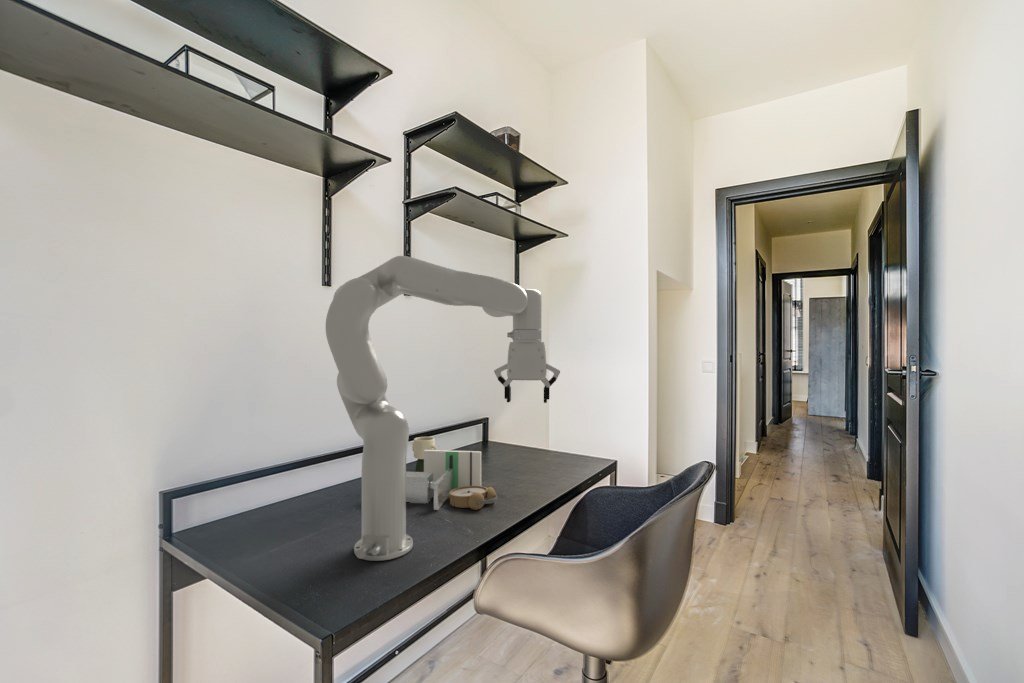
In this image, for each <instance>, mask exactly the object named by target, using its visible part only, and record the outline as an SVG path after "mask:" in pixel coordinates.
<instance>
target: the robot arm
mask: <svg viewBox="0 0 1024 683" xmlns="http://www.w3.org/2000/svg"><path fill="white" fill-rule="evenodd" d="M401 295H407V296H410V297H416V298H420V299H424V300H428V301H432V302H434V303H437V304H438V303H439V304H441V305H447V306H457V307H460V306H461V307H462V306H466V307H467V306H468V307H469V306H471V307H481V308H482V310H483V311H484V313H485V314H487V315H488V316H491V317H493V318H502V317H504V318H505V317H512V330H511V331H510V332H507V334H506V336H507V338H510V339H512V341H510V342H509V345H508V349H507V363H505V364H504V365H501V366H500V367H498V368H496V369H494V371H493V372H494V374H495V376H496V378H497V381H498V382H499V383H500V384H501V385H503V387H504V399H505V400H506V403H510V402H511V400H512V386H511V383H512V382H513V381H541V382H542V384H543V385H544V386H543V403H544V404H547V403H548V400H550V387H551V386H552V385H553V384H554V383H555V382H557V379H558V377H559V375H560V374H561V370H560V369H559V368H557V367H554V366H553V365H551V364H549V363H547V354H546V353H547V352H546V344H545V342H544V341H542V293H541V291H539V290H538V289H533V288H532V289H531V288H522V287H521V286H520V285H518V284H516V283H513V282H511V281H507V280H504V279H501V278H497V277H493V276H489V275H483V274H478V273H471V272H466V271H459V270H456V269H452V268H449V267H445V266H442V265H439V264H434V263H432V262H427V261H424V260H421V259H418V258H415V257H411V256H406V255H398V256H397V255H396V256H394V257H392V258H390V259H389V260H387V261H386V262H383V263H382V264H380V265H379V266H377V267H375V268H373V269H372V270H370V271H368V272H366V273H365V274H362V275H361V276H358V277H356V278H355V277H354V278H352V279H350V280H349V279H348V281H346V282H344V283H342V285H340V286H339V287H338V288H337V289H336V290H335V292H334V294H333V298H332V301H331V303H330V305H329V307H328V310H327V313H326V318H325V337H326V340H327V343H328V347H329V350H330V352H331V354H332V358H333V360H334V363H335V365H336V368H337V370H338V373H337V376H336V387H337V391H338V393H339V395H340V397H341V398H340V399H341V400H342V402H343V406H344V408H345V410H346V412H347V414H348V416H349V419H350V421H351V422H350V423H352V424H351V425H352V426H353V428H354V430H355V432H356V434H357V435H358V436H359V438H361V439H362V440H363V448H362V458H361V538H360V539H359V540H358V541H357V542H356V543H355V544H354V546H353V552H354V555H355V556H356V557H357V559H361V560H365V561H370V562H372V561H373V562H381V561H382V562H383V561H388V560H393V559H397V558H400V557H402V556H404V555H406V554H407V553H409V552H410V551H411V550H412V548H413V546H414V540H413V537H411V536H410V535H409V534H407V532H406V531H407V528H406V527H407V503H406V472H407V454H408V453H407V452H408V445H409V440H410V438H409V437H410V428H409V423H408V420H407V418H406V416H405V415H404V414H403V412H401V411H400V409H397V408H396V407H394V406H392V405H390V403H389V402H388V399H387V396H386V393H387V391H388V390H387V389H388V379H387V375H386V373H385V371H384V368H383V366H382V364H381V363H380V362H381V361H380V360H379V357H378V355H377V352H376V350H375V348H374V344H373V343H372V339H371V335H370V330H369V324H370V319H371V317H372V315H373V314H374V313H375V311H377V309H379V308H381V307H382V306H384V305H386V304H388V303H389V302H391V301H392V300H394V299H396V298H398V297H399V296H401ZM547 370H548V371H550V372H552V374H553V375H552V377H551V378H550V379H549V380H548V378H547ZM504 371H506V374H507V375H506V377H507V379H505V378H504V376H503V375H502V372H504Z"/></svg>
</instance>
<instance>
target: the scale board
mask: <svg viewBox="0 0 1024 683" xmlns="http://www.w3.org/2000/svg"><path fill="white" fill-rule="evenodd" d="M450 455H453V489H455V488H459V487H464V486H482V451H478V450H476V451H474V450H443V449H440V450H439V449H437V450H424V472H433V481H437V480H438V479H439V478H440V477H441V476H442V475H443V474H444V473H445V472H446V471H447V469H448V468H449V457H450Z"/></svg>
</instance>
